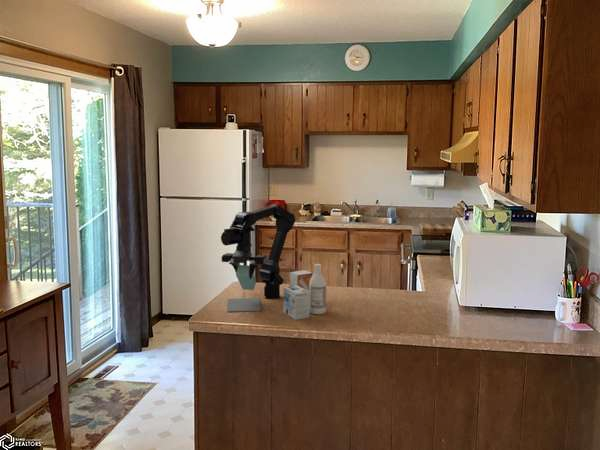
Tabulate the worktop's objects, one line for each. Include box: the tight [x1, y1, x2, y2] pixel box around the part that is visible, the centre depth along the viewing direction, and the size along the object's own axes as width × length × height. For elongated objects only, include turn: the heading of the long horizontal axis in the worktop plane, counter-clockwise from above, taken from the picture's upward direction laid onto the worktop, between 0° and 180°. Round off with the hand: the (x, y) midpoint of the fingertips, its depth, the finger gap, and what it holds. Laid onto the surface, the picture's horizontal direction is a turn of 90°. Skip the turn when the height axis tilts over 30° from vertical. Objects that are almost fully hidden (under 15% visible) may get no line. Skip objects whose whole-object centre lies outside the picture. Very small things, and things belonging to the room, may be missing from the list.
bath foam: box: [309, 263, 327, 315], centre depth 222 cm, size 7×7×20 cm
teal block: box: [235, 264, 257, 291], centre depth 233 cm, size 5×5×12 cm
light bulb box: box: [283, 286, 310, 321], centre depth 219 cm, size 11×7×11 cm, turn 29°
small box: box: [289, 269, 313, 291], centre depth 238 cm, size 8×6×13 cm
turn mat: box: [226, 297, 262, 313], centre depth 232 cm, size 14×18×1 cm
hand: (244, 278), depth 231 cm, fingers closed on teal block, 5 cm apart
